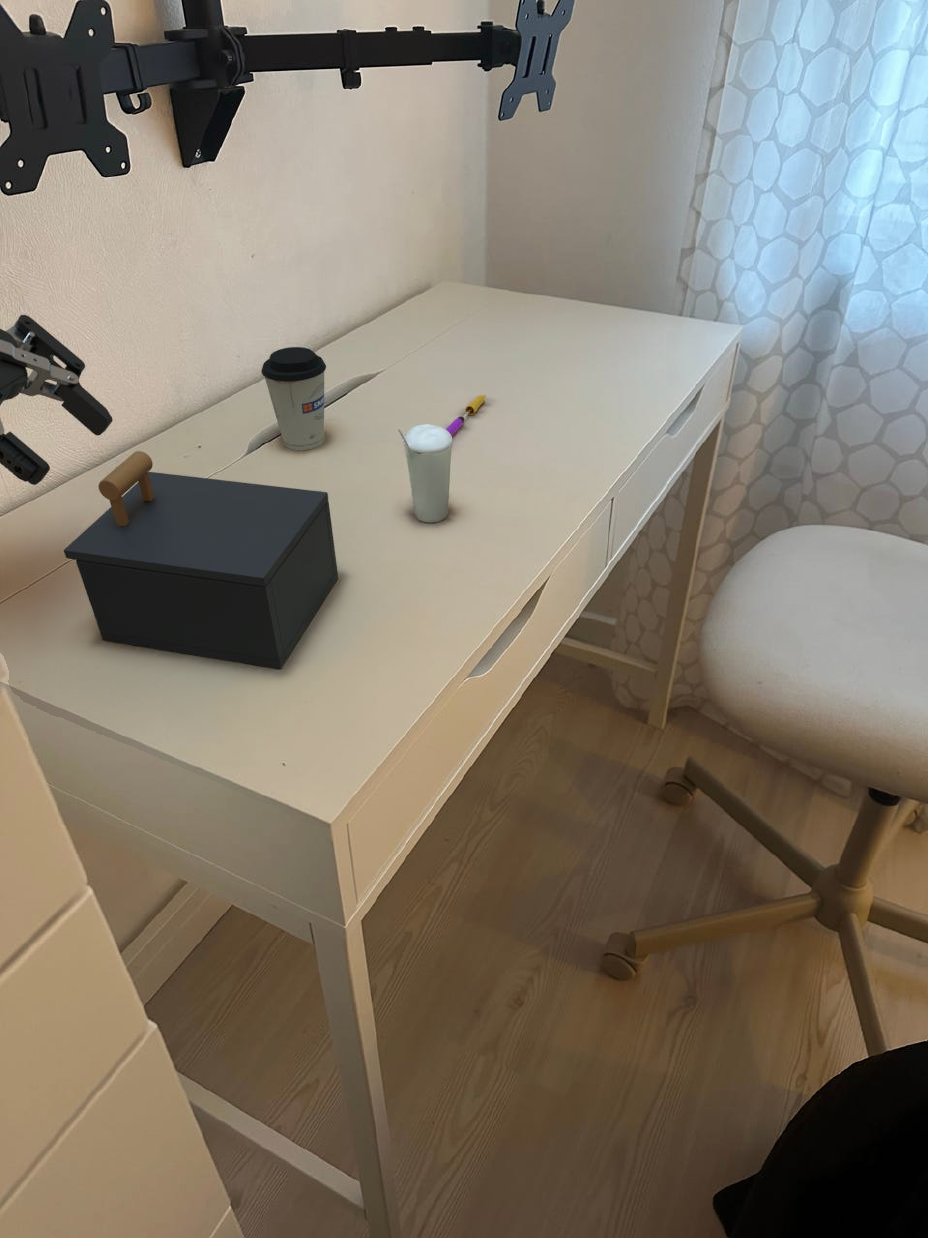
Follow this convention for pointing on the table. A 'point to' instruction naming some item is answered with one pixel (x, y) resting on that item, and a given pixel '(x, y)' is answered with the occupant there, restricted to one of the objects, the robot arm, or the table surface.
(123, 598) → the black open box
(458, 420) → the purple yellow rod
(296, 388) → the coffee cup
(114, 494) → the lid
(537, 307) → the table surface
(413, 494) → the milkshake
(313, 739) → the table surface
